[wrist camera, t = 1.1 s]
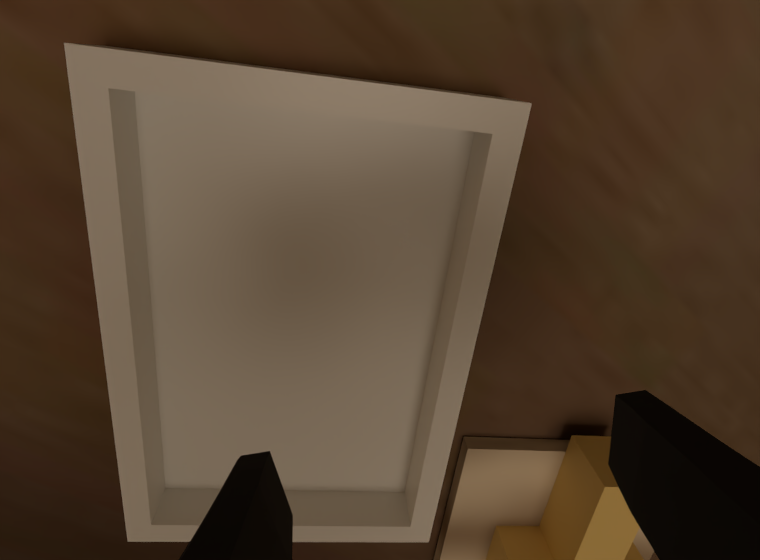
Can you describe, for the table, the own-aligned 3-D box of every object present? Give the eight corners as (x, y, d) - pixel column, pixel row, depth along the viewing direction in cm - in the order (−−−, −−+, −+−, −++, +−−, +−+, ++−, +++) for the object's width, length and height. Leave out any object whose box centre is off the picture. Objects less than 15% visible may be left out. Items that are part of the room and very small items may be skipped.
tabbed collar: (584, 610, 28) (611, 669, 25) (469, 612, 27) (484, 673, 25) (663, 438, 23) (708, 488, 20) (524, 433, 22) (552, 485, 19)
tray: (419, 497, 24) (428, 542, 22) (148, 493, 23) (127, 541, 20) (504, 97, 17) (532, 103, 14) (104, 45, 15) (64, 42, 13)
